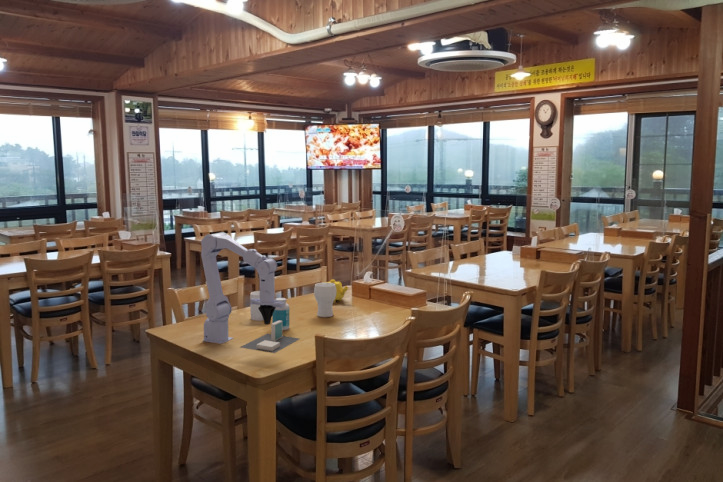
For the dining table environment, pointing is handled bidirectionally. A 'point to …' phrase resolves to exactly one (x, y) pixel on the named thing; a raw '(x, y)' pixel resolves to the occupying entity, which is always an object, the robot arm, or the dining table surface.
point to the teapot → (339, 290)
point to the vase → (255, 307)
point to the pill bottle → (281, 314)
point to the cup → (325, 298)
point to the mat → (283, 341)
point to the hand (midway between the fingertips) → (267, 323)
